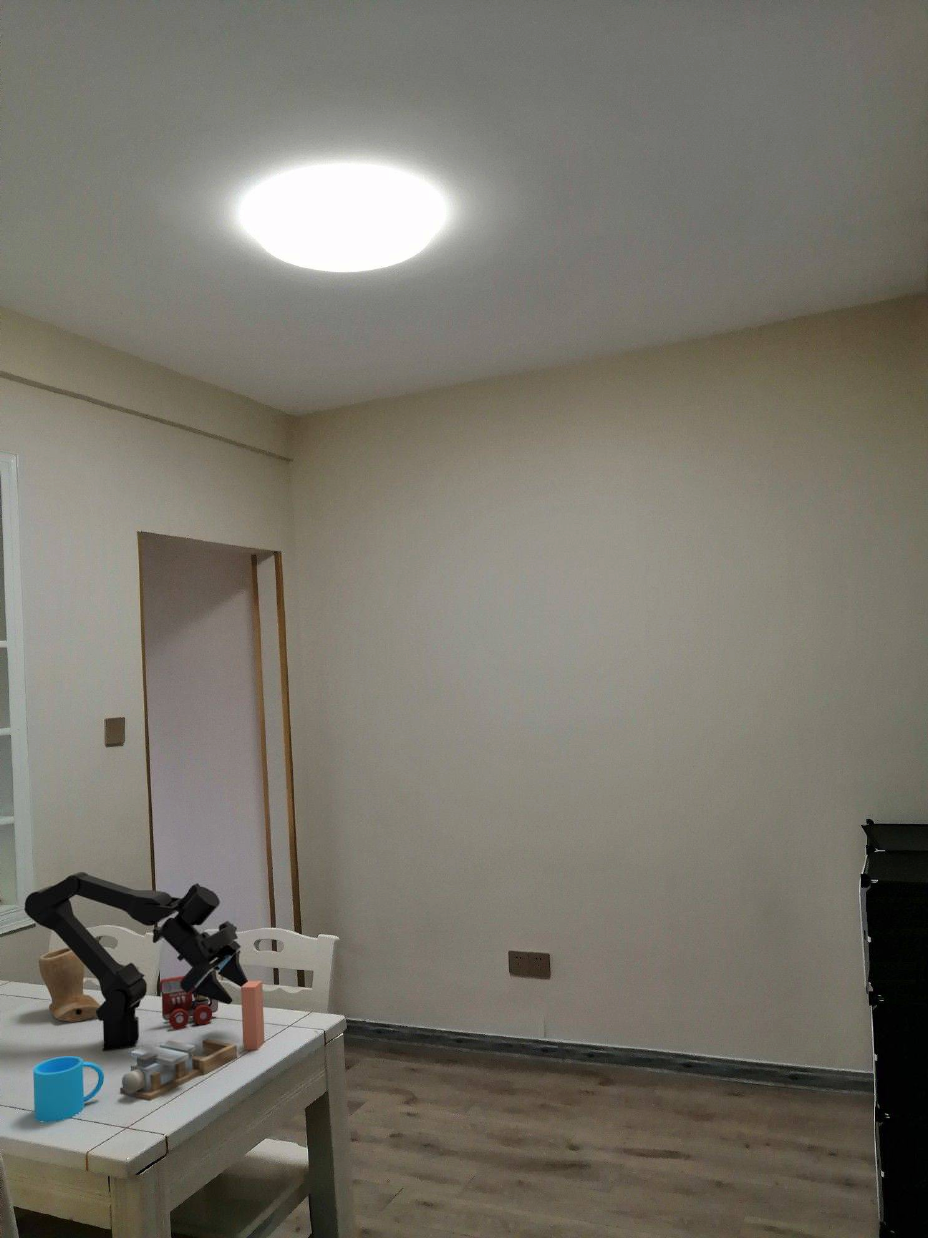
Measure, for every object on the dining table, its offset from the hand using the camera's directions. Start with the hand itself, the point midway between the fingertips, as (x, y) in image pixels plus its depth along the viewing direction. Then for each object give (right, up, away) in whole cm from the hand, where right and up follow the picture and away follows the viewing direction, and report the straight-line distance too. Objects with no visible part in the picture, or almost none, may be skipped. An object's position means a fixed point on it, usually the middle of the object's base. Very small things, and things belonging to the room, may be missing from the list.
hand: (239, 995), depth 205 cm
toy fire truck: (-14, -12, +15) cm, 24 cm away
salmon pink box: (+3, -10, -1) cm, 11 cm away
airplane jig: (-9, -10, -14) cm, 20 cm away
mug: (-24, -11, -27) cm, 38 cm away
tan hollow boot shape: (-45, -14, +24) cm, 52 cm away
